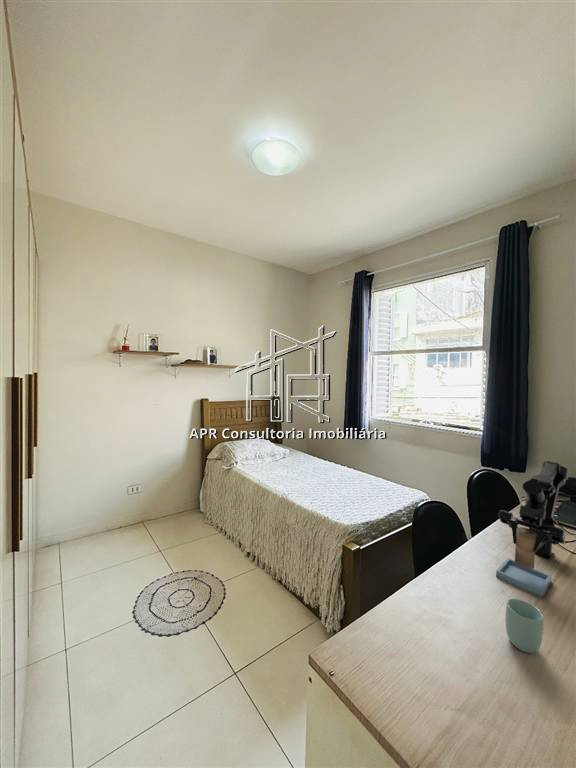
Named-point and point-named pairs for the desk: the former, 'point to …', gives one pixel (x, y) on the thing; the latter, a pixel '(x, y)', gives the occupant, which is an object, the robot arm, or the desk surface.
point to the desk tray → (524, 577)
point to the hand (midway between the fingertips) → (524, 547)
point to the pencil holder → (525, 548)
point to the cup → (524, 625)
